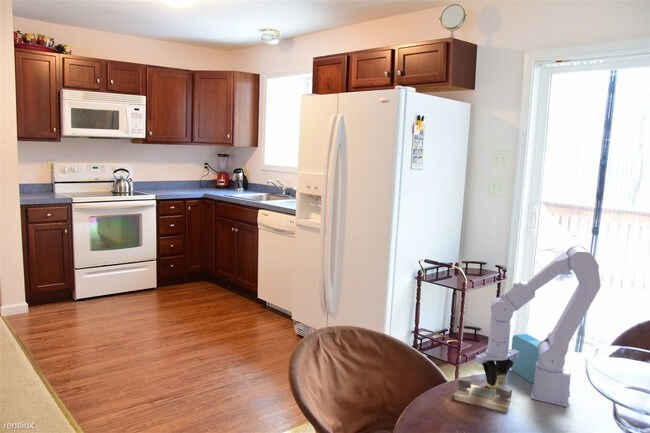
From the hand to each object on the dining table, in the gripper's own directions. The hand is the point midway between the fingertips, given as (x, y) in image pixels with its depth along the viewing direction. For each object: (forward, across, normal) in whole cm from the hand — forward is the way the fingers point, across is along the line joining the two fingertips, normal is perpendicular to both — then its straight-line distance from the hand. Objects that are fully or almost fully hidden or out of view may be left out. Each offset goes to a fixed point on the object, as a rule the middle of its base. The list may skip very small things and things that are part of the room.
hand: (495, 383), depth 150 cm
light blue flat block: (+2, -16, -3) cm, 16 cm away
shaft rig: (+1, +8, +4) cm, 9 cm away
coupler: (+1, 0, 0) cm, 1 cm away
